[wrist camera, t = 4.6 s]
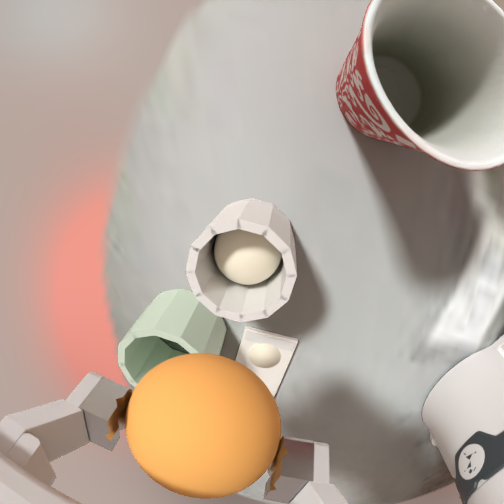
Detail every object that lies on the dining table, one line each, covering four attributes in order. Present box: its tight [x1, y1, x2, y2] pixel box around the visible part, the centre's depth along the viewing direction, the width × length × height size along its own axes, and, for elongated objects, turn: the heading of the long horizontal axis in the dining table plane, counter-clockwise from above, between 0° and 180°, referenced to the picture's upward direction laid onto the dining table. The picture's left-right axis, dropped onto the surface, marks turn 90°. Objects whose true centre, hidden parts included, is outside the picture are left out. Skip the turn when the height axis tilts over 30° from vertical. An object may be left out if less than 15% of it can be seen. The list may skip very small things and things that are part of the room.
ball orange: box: [125, 353, 281, 499], centre depth 9 cm, size 5×5×5 cm
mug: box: [336, 0, 504, 171], centre depth 15 cm, size 13×9×14 cm
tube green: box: [118, 288, 227, 387], centre depth 27 cm, size 8×8×7 cm
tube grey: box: [186, 198, 297, 322], centre depth 23 cm, size 7×7×7 cm
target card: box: [235, 326, 298, 397], centre depth 31 cm, size 5×10×1 cm, turn 166°
